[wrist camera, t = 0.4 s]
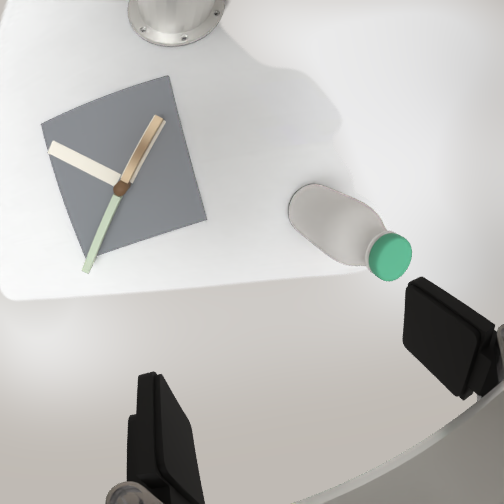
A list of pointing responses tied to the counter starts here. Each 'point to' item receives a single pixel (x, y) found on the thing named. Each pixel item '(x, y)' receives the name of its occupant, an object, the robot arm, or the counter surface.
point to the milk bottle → (349, 231)
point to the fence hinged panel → (101, 232)
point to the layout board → (124, 166)
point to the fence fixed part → (137, 157)
